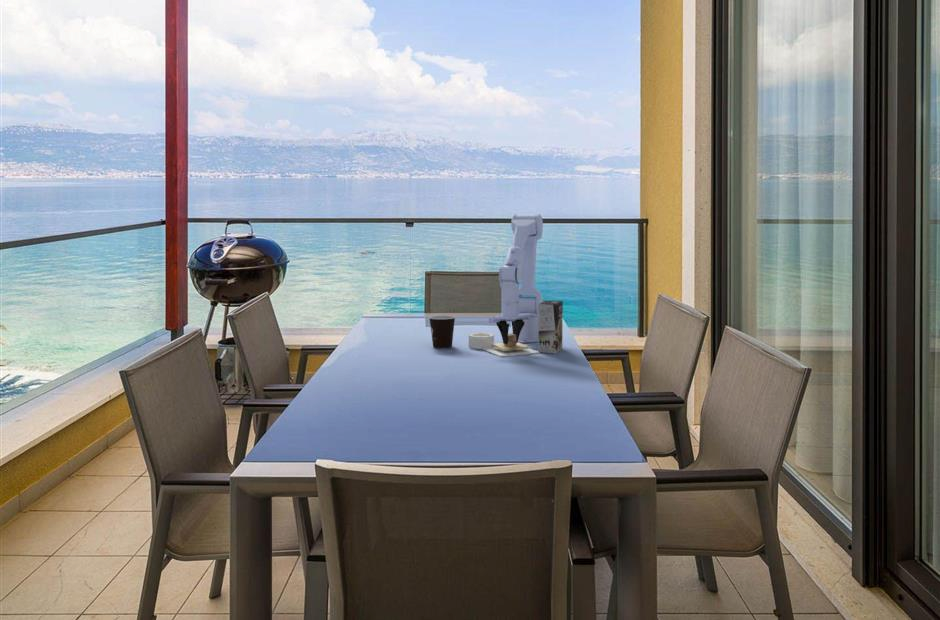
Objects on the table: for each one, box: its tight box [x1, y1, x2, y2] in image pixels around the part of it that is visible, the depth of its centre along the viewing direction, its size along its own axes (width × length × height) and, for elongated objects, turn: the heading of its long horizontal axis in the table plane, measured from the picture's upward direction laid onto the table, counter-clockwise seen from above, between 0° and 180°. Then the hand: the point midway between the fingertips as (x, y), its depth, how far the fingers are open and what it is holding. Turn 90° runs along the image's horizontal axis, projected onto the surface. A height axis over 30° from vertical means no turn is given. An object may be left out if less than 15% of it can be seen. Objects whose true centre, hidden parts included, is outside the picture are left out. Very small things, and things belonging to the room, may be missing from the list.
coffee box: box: [537, 300, 564, 354], centre depth 279 cm, size 9×6×16 cm
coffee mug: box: [428, 314, 456, 349], centre depth 289 cm, size 12×9×10 cm
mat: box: [481, 347, 540, 358], centre depth 279 cm, size 14×14×1 cm
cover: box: [492, 333, 530, 351], centre depth 278 cm, size 9×9×4 cm
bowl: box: [468, 332, 495, 350], centre depth 287 cm, size 8×8×4 cm
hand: (510, 343), depth 278 cm, fingers closed on cover, 3 cm apart
